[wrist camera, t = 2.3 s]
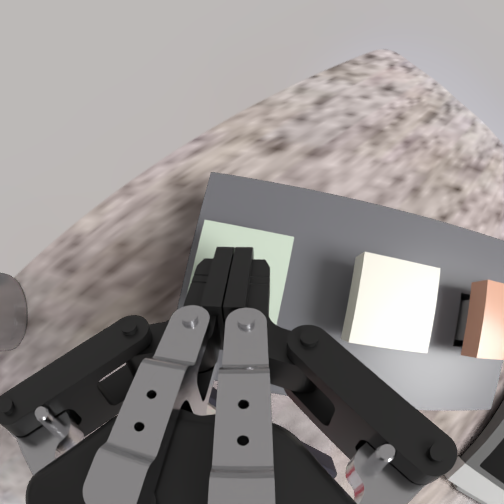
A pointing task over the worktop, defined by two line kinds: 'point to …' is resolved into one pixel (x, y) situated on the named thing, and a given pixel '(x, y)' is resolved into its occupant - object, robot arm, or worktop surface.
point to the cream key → (391, 303)
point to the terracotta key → (482, 321)
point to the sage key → (264, 247)
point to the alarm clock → (483, 464)
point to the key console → (341, 272)
